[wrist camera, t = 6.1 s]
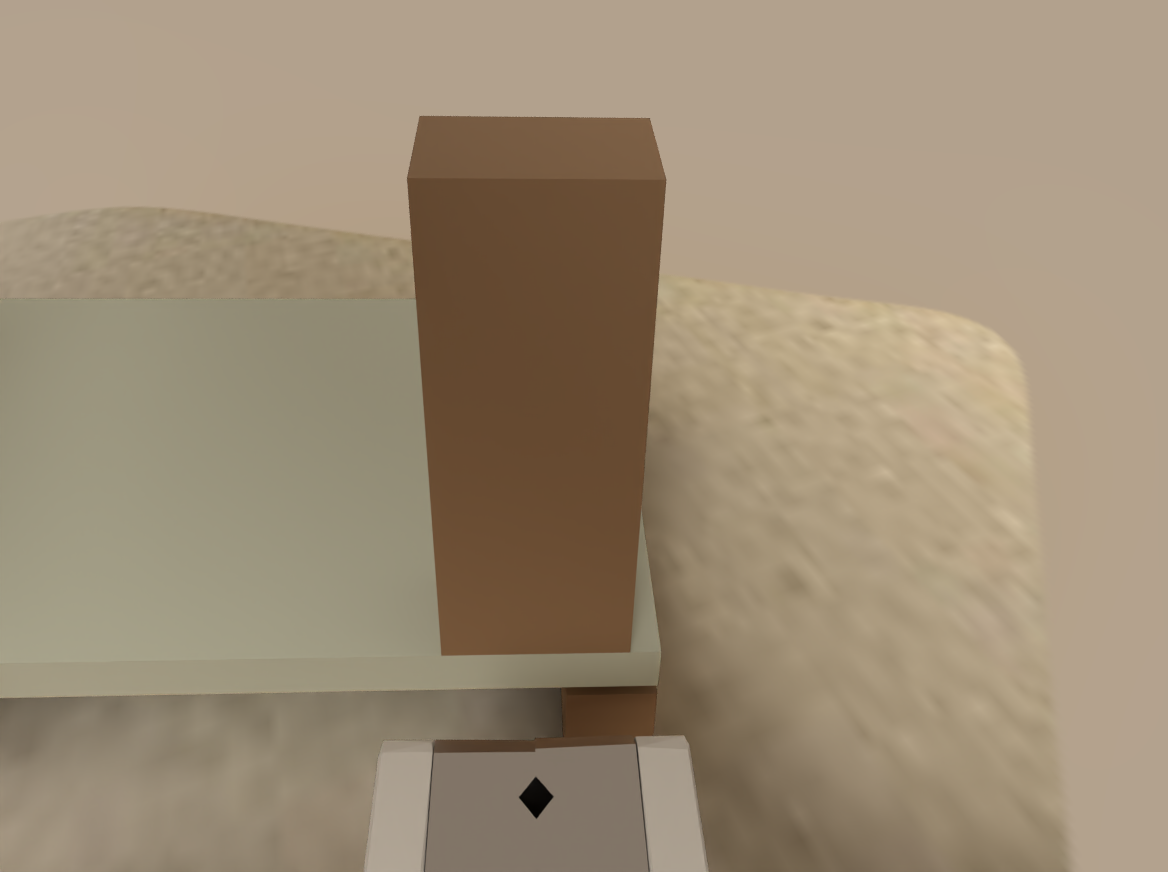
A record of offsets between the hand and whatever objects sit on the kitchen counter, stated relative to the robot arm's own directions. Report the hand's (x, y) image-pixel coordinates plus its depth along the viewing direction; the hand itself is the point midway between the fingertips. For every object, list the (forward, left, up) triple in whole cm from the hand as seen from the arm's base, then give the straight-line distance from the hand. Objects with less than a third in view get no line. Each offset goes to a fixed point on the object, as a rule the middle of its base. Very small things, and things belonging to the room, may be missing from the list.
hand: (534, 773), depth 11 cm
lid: (-10, +11, -5) cm, 15 cm away
